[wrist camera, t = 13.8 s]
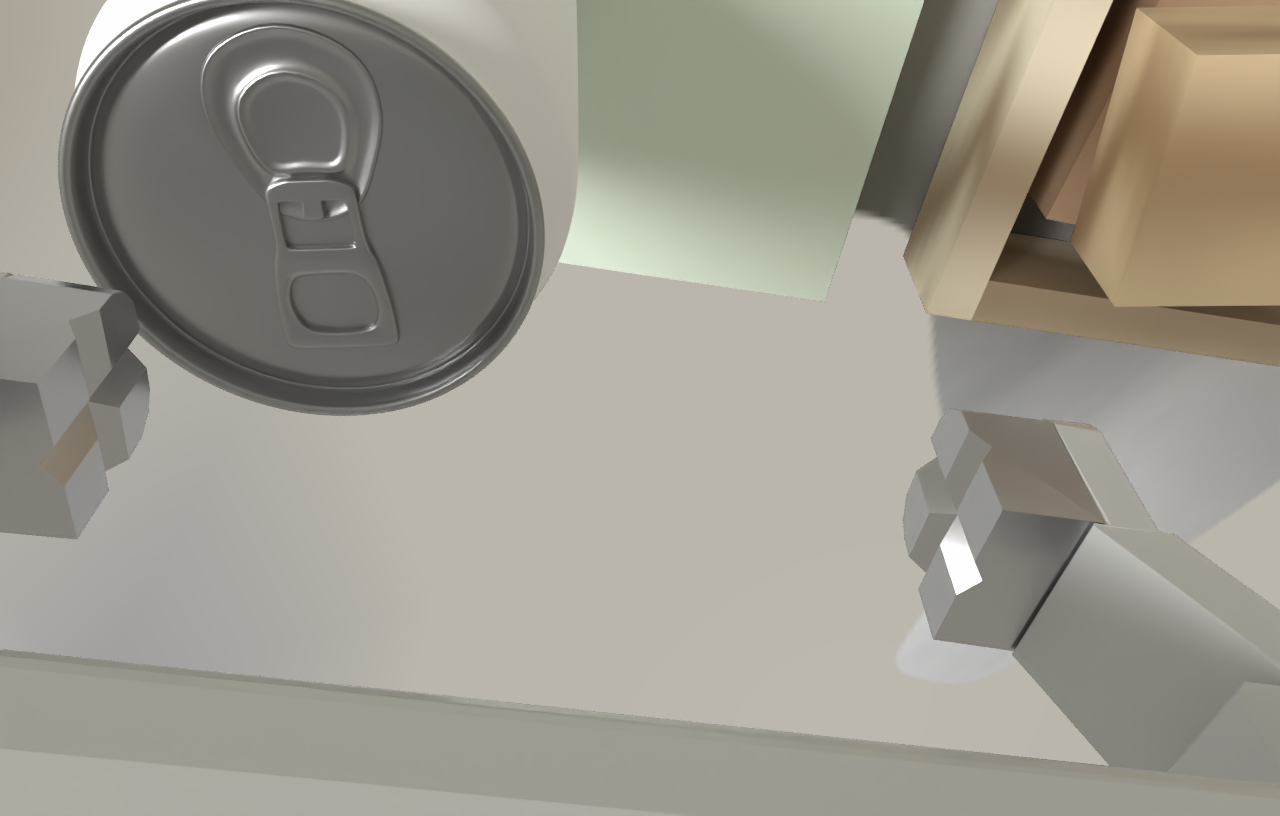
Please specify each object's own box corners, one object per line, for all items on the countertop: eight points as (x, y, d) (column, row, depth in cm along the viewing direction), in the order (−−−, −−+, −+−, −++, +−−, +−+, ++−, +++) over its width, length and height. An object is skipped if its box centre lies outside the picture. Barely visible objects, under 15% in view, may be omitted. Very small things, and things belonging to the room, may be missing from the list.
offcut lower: (1246, 217, 27) (1302, 272, 25) (1010, 166, 26) (1046, 218, 24) (1391, -4, 24) (1474, 36, 21) (1124, -72, 23) (1178, -37, 20)
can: (568, -207, 19) (566, -64, 10) (582, 113, 23) (589, 432, 14) (235, -203, 19) (-93, -52, 10) (306, 120, 23) (122, 451, 14)
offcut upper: (1340, 238, 24) (1413, 303, 22) (1070, 241, 24) (1114, 306, 22) (1451, 3, 21) (1553, 50, 19) (1136, 7, 21) (1197, 55, 19)
